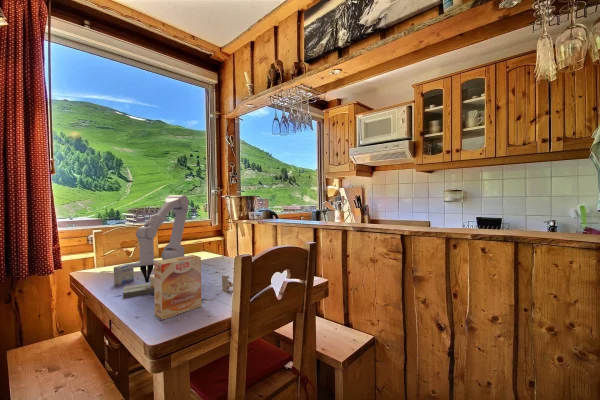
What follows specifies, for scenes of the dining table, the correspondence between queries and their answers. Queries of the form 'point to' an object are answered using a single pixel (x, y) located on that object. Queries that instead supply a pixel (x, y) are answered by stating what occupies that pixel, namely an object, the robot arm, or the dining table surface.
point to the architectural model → (226, 283)
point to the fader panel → (137, 290)
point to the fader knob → (152, 280)
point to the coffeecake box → (177, 285)
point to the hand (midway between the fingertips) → (147, 282)
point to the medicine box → (123, 274)
